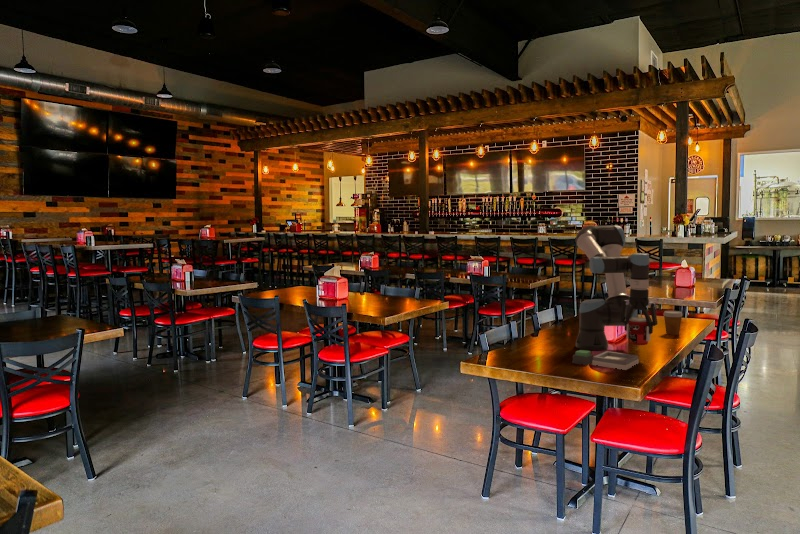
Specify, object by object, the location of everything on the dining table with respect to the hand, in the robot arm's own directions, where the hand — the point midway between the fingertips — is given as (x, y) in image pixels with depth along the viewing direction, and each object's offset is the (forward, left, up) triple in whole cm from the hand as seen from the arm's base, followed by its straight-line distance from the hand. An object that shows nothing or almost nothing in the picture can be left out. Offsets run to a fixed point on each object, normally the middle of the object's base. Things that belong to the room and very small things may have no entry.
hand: (638, 339), depth 255 cm
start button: (+19, -17, -7) cm, 27 cm away
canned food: (0, 0, -2) cm, 2 cm away
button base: (+19, -17, -9) cm, 27 cm away
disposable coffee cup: (-68, -7, -9) cm, 69 cm away
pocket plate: (+13, -5, -9) cm, 17 cm away
